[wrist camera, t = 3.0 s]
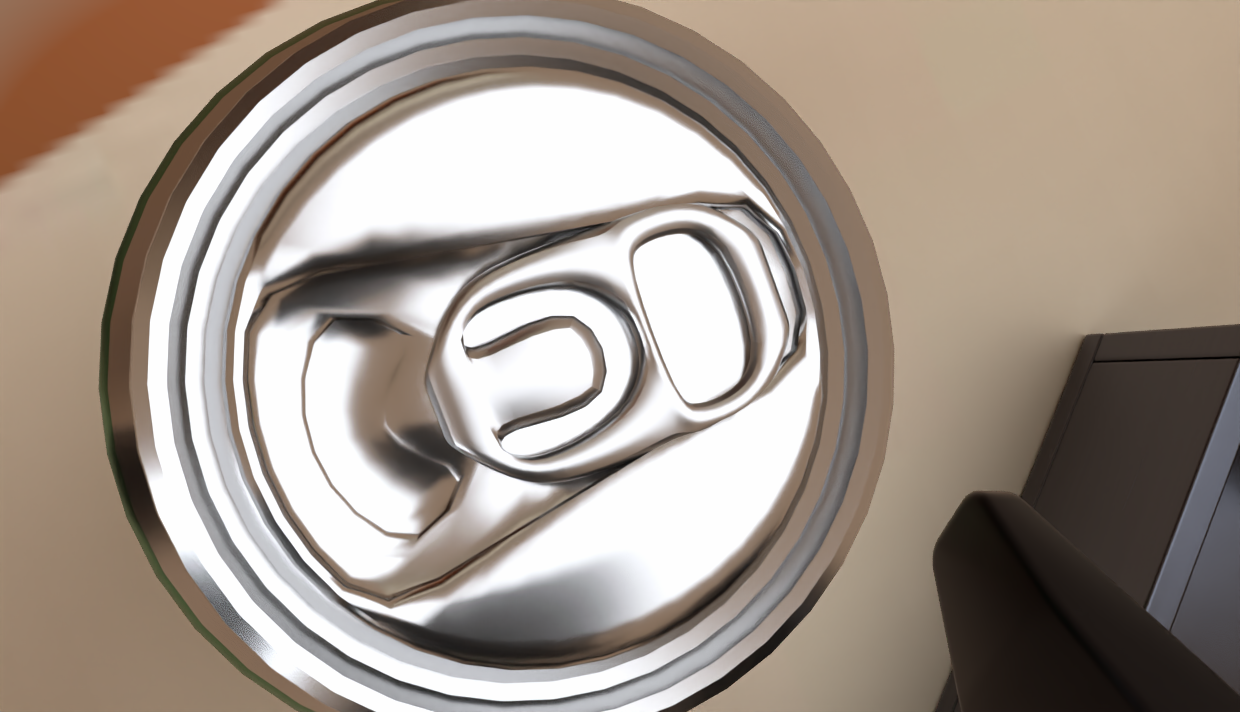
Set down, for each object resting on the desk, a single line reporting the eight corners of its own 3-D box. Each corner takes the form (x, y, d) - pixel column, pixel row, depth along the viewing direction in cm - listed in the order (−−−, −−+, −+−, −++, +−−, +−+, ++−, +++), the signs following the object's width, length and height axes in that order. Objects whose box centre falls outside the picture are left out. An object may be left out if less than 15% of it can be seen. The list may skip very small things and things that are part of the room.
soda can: (215, 284, 17) (-118, 62, 5) (514, 184, 18) (790, -186, 6) (331, 581, 17) (261, 1000, 6) (618, 464, 18) (1064, 602, 7)
